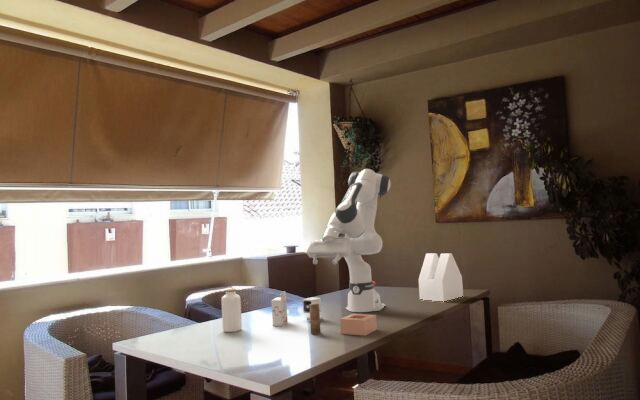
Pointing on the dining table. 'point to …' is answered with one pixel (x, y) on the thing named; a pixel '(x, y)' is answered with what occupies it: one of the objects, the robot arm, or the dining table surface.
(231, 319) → the potion bottle
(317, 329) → the dowel
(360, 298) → the robot arm
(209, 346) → the dining table surface
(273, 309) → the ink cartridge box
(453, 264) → the white notched block
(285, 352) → the dining table surface
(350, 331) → the socket block
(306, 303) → the security camera
